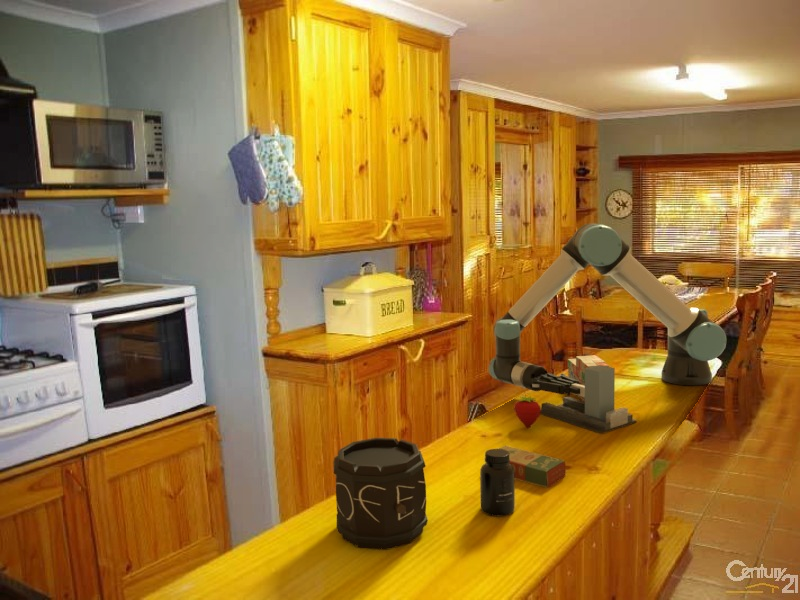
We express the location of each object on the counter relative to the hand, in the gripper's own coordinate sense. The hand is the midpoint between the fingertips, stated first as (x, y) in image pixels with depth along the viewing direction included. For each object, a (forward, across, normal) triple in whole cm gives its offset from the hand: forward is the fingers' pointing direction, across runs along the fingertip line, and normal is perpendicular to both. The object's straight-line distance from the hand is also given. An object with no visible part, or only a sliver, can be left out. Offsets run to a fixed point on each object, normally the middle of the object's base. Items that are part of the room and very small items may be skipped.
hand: (591, 393), depth 195 cm
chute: (-2, 0, -7) cm, 8 cm away
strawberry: (-6, +18, -8) cm, 20 cm away
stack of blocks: (-16, -17, -8) cm, 25 cm away
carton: (+16, +40, -8) cm, 43 cm away
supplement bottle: (+26, +57, -8) cm, 63 cm away
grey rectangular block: (+3, 0, -7) cm, 8 cm away
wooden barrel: (+19, +80, -8) cm, 82 cm away
